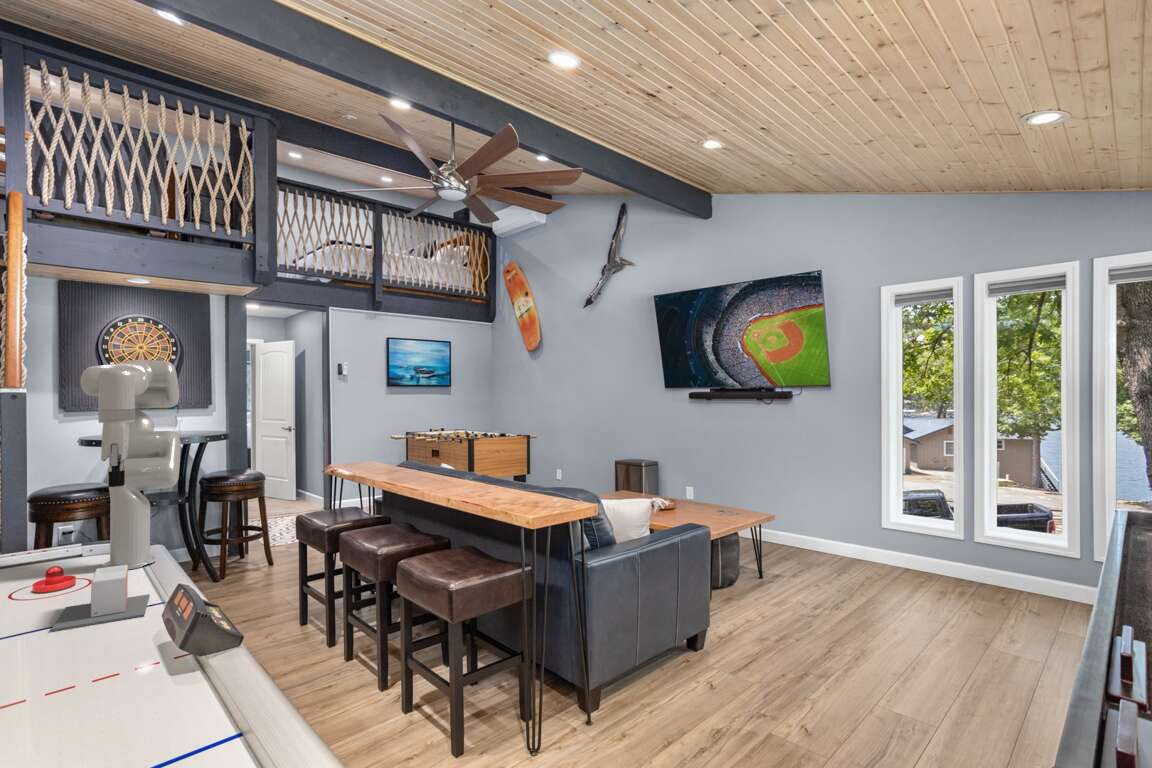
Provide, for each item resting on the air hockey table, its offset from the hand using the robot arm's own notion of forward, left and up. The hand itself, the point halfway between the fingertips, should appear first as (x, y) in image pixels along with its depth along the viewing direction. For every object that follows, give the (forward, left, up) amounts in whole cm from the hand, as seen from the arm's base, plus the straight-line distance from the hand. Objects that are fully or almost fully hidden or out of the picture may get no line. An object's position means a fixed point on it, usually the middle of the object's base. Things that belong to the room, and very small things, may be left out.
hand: (116, 485), depth 153 cm
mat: (+20, 0, -27) cm, 34 cm away
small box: (+11, 0, -22) cm, 25 cm away
